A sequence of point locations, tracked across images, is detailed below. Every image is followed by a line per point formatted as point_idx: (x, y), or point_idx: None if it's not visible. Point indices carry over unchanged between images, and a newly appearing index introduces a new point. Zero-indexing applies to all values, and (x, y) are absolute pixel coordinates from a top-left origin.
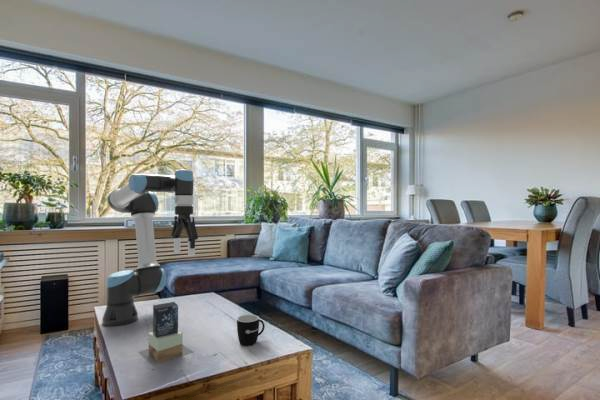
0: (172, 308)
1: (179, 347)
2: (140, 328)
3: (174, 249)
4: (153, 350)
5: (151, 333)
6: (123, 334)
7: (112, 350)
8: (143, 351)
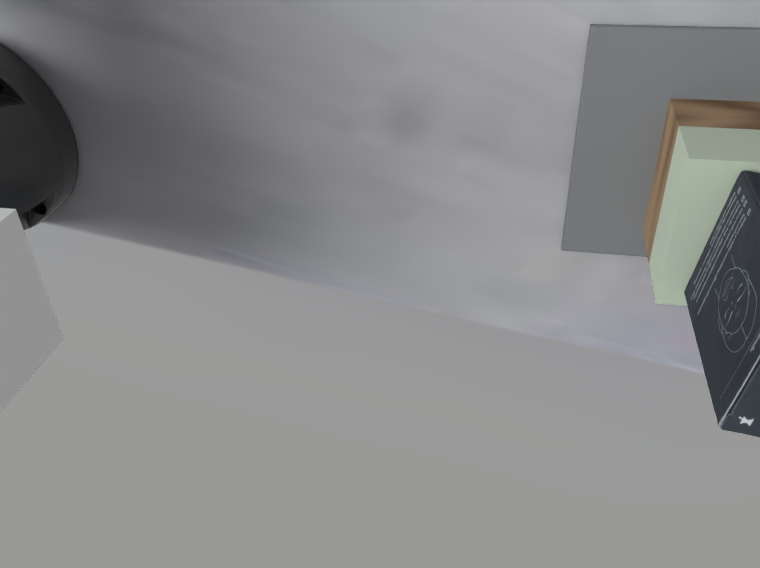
0: None
1: None
2: (191, 95)
3: (5, 397)
4: None
5: (681, 297)
6: (237, 199)
7: (426, 306)
8: (580, 231)
